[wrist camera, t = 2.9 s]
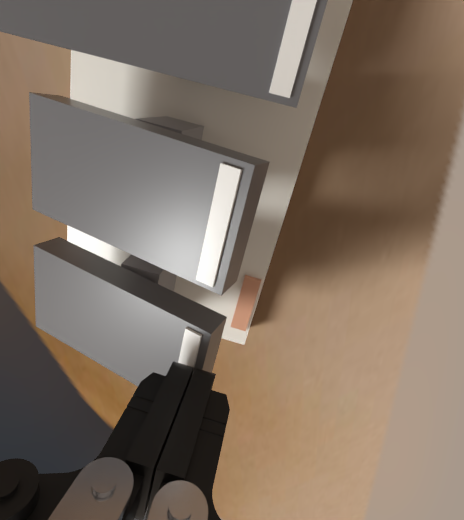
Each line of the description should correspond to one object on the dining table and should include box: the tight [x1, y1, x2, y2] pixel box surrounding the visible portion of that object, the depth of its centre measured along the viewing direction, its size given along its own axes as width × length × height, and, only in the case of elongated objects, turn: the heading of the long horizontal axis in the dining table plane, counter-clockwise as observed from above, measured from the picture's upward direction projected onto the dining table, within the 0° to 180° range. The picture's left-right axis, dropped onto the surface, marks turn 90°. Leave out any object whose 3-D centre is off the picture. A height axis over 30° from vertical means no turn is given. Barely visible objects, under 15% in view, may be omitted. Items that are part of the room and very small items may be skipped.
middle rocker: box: [29, 92, 270, 295], centre depth 11 cm, size 4×8×1 cm, turn 77°
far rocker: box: [34, 237, 227, 386], centre depth 14 cm, size 4×8×1 cm, turn 77°
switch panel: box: [67, 0, 353, 345], centre depth 14 cm, size 16×10×4 cm, turn 167°
